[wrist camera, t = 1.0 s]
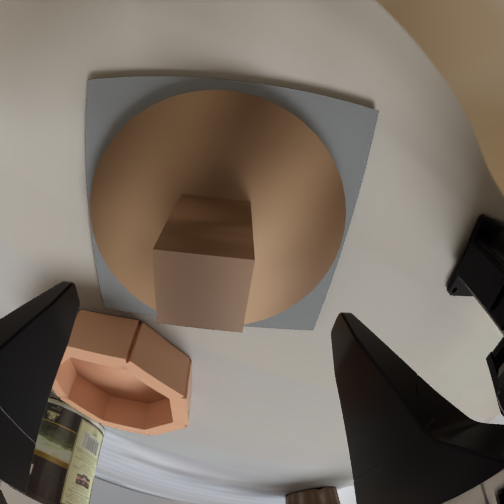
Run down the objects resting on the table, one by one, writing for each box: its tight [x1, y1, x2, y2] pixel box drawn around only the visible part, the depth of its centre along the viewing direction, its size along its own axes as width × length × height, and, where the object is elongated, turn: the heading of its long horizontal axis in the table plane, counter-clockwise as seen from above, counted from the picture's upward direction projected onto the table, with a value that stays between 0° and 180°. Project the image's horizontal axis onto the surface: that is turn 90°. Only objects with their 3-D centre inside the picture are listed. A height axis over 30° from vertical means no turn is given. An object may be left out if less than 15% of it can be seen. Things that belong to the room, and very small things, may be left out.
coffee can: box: [9, 398, 105, 504], centre depth 22 cm, size 10×10×14 cm
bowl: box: [52, 310, 192, 435], centre depth 20 cm, size 12×12×4 cm
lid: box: [90, 90, 346, 332], centre depth 12 cm, size 13×13×6 cm
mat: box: [85, 76, 378, 330], centre depth 15 cm, size 14×14×1 cm
